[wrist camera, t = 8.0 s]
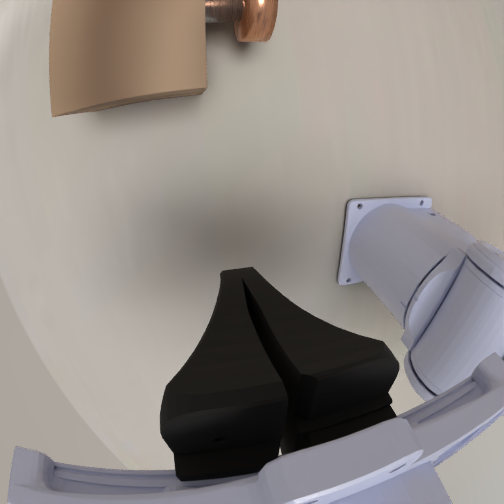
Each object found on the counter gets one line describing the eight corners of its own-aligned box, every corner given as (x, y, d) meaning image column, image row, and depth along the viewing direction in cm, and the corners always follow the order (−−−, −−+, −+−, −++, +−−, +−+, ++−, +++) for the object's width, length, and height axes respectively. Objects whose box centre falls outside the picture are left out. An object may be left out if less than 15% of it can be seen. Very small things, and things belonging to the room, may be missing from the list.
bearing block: (199, -35, 11) (206, -84, 6) (201, 94, 16) (207, 87, 10) (95, -17, 10) (63, -55, 4) (95, 111, 15) (51, 117, 9)
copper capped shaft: (255, -11, 12) (275, -39, 8) (257, 48, 14) (279, 32, 10) (72, 13, 10) (43, -6, 6) (71, 73, 12) (38, 68, 8)
